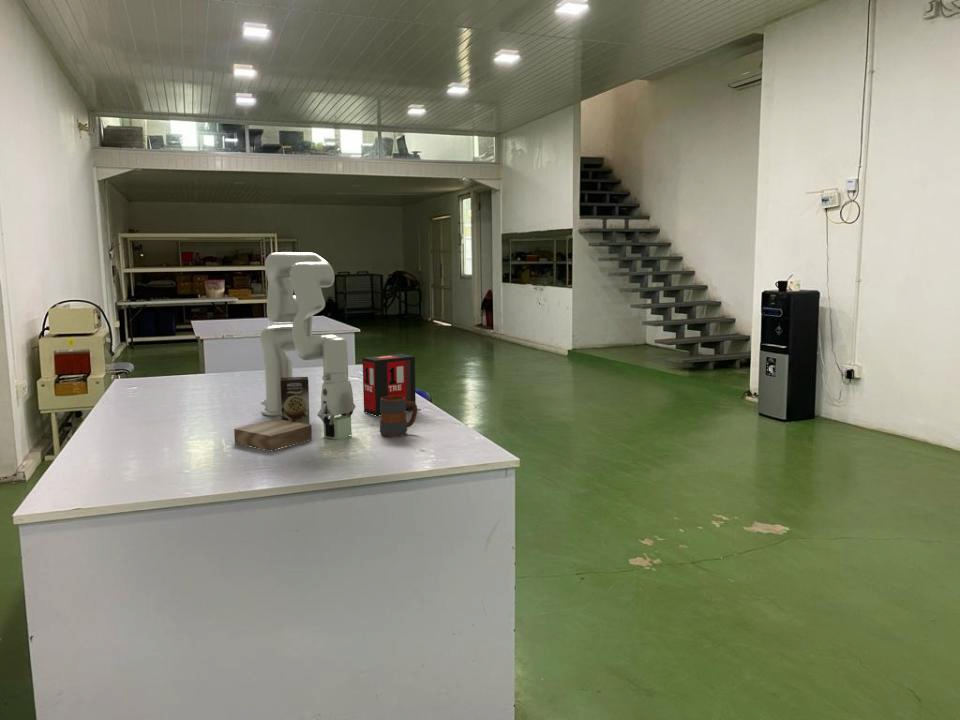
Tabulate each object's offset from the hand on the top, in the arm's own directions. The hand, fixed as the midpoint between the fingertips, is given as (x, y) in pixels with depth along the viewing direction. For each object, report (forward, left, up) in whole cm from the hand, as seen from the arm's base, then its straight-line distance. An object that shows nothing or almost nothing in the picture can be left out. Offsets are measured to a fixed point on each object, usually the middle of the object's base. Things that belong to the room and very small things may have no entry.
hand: (337, 433), depth 220 cm
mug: (+14, +13, -1) cm, 19 cm away
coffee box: (-22, +3, -1) cm, 22 cm away
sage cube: (0, 0, -1) cm, 1 cm away
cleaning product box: (-10, +37, -1) cm, 38 cm away
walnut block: (-12, -15, -1) cm, 19 cm away
